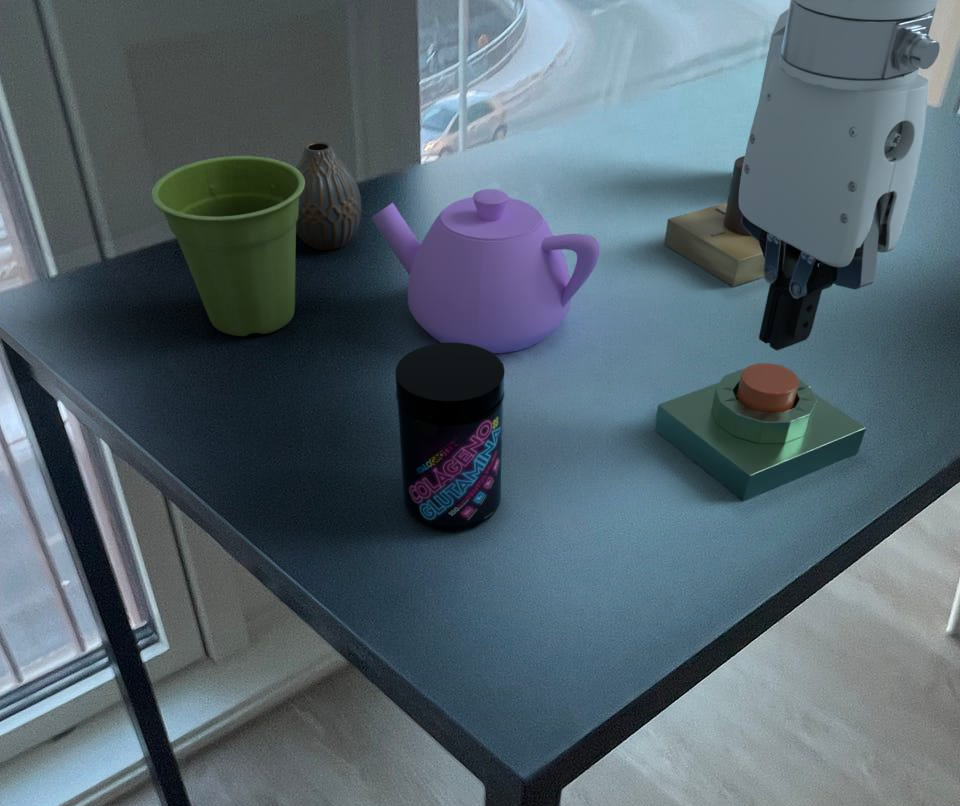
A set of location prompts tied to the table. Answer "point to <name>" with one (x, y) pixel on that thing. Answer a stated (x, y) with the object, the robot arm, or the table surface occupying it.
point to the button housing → (757, 436)
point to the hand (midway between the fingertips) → (783, 339)
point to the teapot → (488, 271)
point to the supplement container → (451, 434)
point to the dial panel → (716, 245)
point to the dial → (735, 201)
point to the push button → (767, 388)
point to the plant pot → (237, 237)
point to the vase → (327, 199)
